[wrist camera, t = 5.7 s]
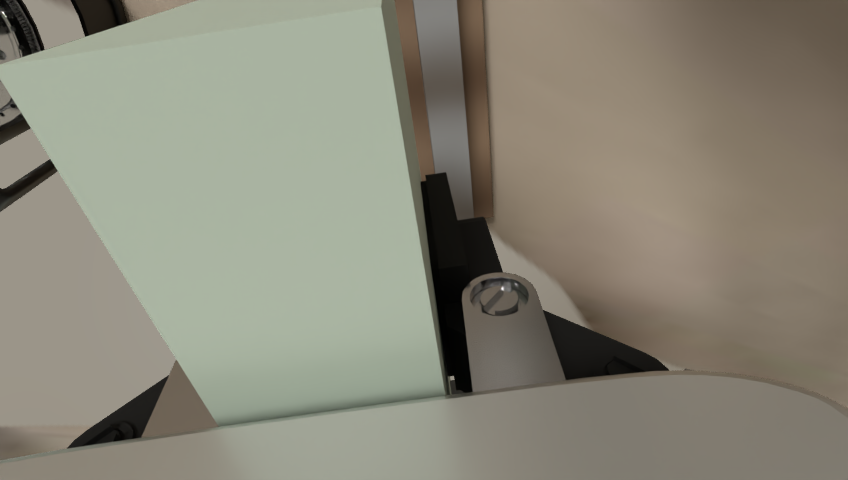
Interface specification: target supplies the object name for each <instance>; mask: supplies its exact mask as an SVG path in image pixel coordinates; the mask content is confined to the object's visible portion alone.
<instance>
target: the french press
mask: <svg viewBox="0 0 848 480" xmlns="http://www.w3.org/2000/svg"><path fill="white" fill-rule="evenodd" d="M71 2H72V4H73V6H74V8H75V10H76V12H77V14H78V16H79V19H80V22H81V25H82V28H83V31H84V34H85V37H86V36H90V35H93V34H96V33H99V32H102V31H105V30H108V29H111V28H114V27H117V26H120V25H123V24H127V20H126V17H125V13H124V9H123V6H122V4H121V1H120V0H71ZM43 50H44V46H43V43H42V40H41V37H40V35H39V32H38V29H37V27H36V24H35V23H34V21H33V19H32V17H31V15H30V13H29V11H28V9H27V7H26V5H25V4H24V3H23V1H22V0H0V64H3V63H6V62H9V61H12V60H15V59H18V58H22V57H25V56H28V55H31V54H34V53H37V52H40V51H43ZM30 128H31V127H30V126H29V124H28V123H27V121H26V119H25V118H24V116H23V115H22V113H21V111H20V110H19V108H18V107H17V105H16V104H15V102H14V100H13V99H12V97H11V96H10V94H9V92H8V91H7V89H6V88H5V86H4V84H3V83H2V81H1V80H0V145H1V144H3V143H4V142H6V141H8V140H10V139H12V138H14V137H16V136H17V135H19V134H21V133H23V132H25V131H27V130H28V129H30ZM57 171H58V170H57V169H56V167H55V166H54V164H53V162H52V161H51V159H50V160H48V161H46V162H45V163H43V164H42V165H40V166H39V167H37V168H36V169H34V170H33V171H31V172H30V173H28V174H27V175H25V176H24V177H22V178H21V179H19V180H17V181H16V182H14V183H13V184H11V185H10V186H8V187H7V188H5V189H1V188H0V212H1V211H2V210H3V209H5V208H7V207H8V206H9V205H11V204H12V203H13V202H15V201H16V200H18V199H19V198H21V197H22V196H23V195H25V194H26V193H28V192H29V191H31V190H32V189H33V188H35V187H36V186H38V185H39V184H40V183H42V182H43V181H44V180H46V179H47V178H49V177H50V176H52V175H53V174H54V173H56V172H57Z"/></svg>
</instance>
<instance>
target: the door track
mask: <svg viewBox="0 0 848 480" xmlns="http://www.w3.org/2000/svg"><path fill="white" fill-rule="evenodd" d="M394 1H395V7H396V14H397V21H398V27H399V34H400V41H401V47H402V54H403V61H404V68H405V74H406V81H407V88H408V94H409V101H410V108H411V114H412V121H413V128H414V134H415V141H416V148H417V154H418V161H419V168H420V174H421V181H426V178H425V175H430V174H437V173H443V172H446V174H447V178H448V182H449V186H450V191H451V195H452V199H453V203H454V207H455V212H456V216H457V220H463V219H469V218H476V217H484V218H490V217H493V198H492V179H491V160H490V141H489V122H488V103H487V84H486V65H485V46H484V27H483V8H482V0H394Z"/></svg>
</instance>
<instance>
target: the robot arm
mask: <svg viewBox="0 0 848 480" xmlns="http://www.w3.org/2000/svg"><path fill="white" fill-rule="evenodd" d="M425 178H426V181H421V182H420V183H421V191H422V199H423V207H424V215H425V223H426V232H427V240H428V248H429V256H430V264H431V271H432V278H433V285H434V291H435V297H436V304H437V310H438V317H439V323H440V330H441V336H442V343H443V349H444V356H445V362H446V368H447V375H448V376H454V379H455V385H456V391H457V390H461V391H463V392H465V393H462V394H454V395H447V396H439V397H431V398H424V399H416V400H409V401H401V402H394V403H386V404H379V405H372V406H364V407H357V408H350V409H342V410H335V411H328V412H320V413H313V414H306V415H299V416H291V417H284V418H277V419H270V420H263V421H255V422H248V423H241V424H234V425H227V426H220V427H219V426H218V425H217V423H216V422H215V420H214V418H213V417H212V415H211V414H210V412H209V410H208V409H207V407H206V406H205V404H204V403H203V401H202V399H201V398H200V396H199V395H198V393H197V391H196V390H195V388H194V387H193V385H192V383H191V382H190V380H189V379H188V377H187V376H186V374H185V372H184V371H183V369H182V368H181V366H180V364H179V363H178V361H177V360H176V361H175V363H174V366H173V368H172V370H171V372H170V375H168V376H167V377H165V378H164V379H162V380H161V381H159V382H158V383H156V384H155V385H154V386H152V387H150V388H149V389H148V390H146V391H145V392H143V393H142V394H140V395H139V396H137V397H136V398H134V399H133V400H131V401H130V402H128V403H127V404H125V405H124V406H122V407H121V408H119V409H118V410H117V411H115V412H113V413H112V414H110V415H109V416H107V417H106V418H104V419H103V420H102V421H100V422H99V423H97V424H96V425H94V426H93V427H91V428H90V429H88V430H87V431H86V432H84V433H83V434H82V435H80V436H79V437H78V438H77V439H75V440H74V441H73V442H72V443H71V445H70V446H69V447H68V448H67V449H62V450H56V451H50V452H45V453H39V454H34V455H28V456H22V457H17V458H11V459H6V460H0V480H848V408H846V407H844V406H843V405H841V404H839V403H837V402H836V401H834V400H831V399H829V398H827V397H825V396H822V395H820V394H818V393H816V392H813V391H810V390H807V389H804V388H801V387H797V386H794V385H791V384H787V383H783V382H779V381H775V380H771V379H765V378H758V377H752V376H746V375H740V374H734V373H726V372H709V371H695V370H690V369H685V370H683V371H669V370H668V368H666V367H665V366H664V365H663V364H662V363H661V362H660V361H659V360H657V359H655V358H654V357H652V356H650V355H648V354H646V353H644V352H642V351H639V350H637V349H635V348H632V347H630V346H628V345H625V344H623V343H620V342H618V341H616V340H613V339H611V338H609V337H606V336H604V335H601V334H599V333H597V332H594V331H592V330H589V329H587V328H585V327H582V326H580V325H578V324H575V323H573V322H570V321H568V320H566V319H563V318H561V317H559V316H556V315H554V314H551V313H549V312H547V311H544V310H543V309H542V306H541V304H540V300H539V297H538V295H537V292H536V290H535V288H534V287H533V285H532V284H531V283H530V282H529V281H527V280H526V279H525V278H522V277H520V276H518V275H516V274H510V273H503V271H502V268H501V265H500V262H499V259H498V256H497V253H496V250H495V247H494V244H493V241H492V238H491V235H490V232H489V229H488V226H487V223H486V220H485V218H484V217H476V218H469V219H463V220H457V216H456V212H455V207H454V203H453V199H452V195H451V191H450V186H449V182H448V178H447V174H446V172H443V173H437V174H430V175H425Z"/></svg>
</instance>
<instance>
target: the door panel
mask: <svg viewBox="0 0 848 480" xmlns="http://www.w3.org/2000/svg"><path fill="white" fill-rule="evenodd" d="M0 80H1V81H2V83H3V84H4V86H5V88H6V89H7V91H8V92H9V94H10V96H11V97H12V99H13V100H14V102H15V104H16V105H17V107H18V108H19V110H20V111H21V113H22V115H23V116H24V118H25V119H26V121H27V123H28V124H29V126H30V127H31V129H32V131H33V132H34V134H35V135H36V137H37V138H38V140H39V142H40V143H41V145H42V146H43V148H44V150H45V151H46V153H47V154H48V156H49V158H50V159H51V161H52V162H53V164H54V166H55V167H56V169H57V170H58V172H59V174H60V175H61V177H62V178H63V180H64V181H65V183H66V185H67V186H68V188H69V189H70V191H71V193H72V194H73V196H74V197H75V199H76V200H77V202H78V204H79V205H80V207H81V208H82V210H83V212H84V213H85V215H86V216H87V218H88V220H89V221H90V223H91V224H92V226H93V228H94V229H95V231H96V232H97V234H98V236H99V237H100V239H101V240H102V242H103V243H104V245H105V247H106V248H107V250H108V251H109V253H110V255H111V256H112V258H113V259H114V261H115V263H116V264H117V266H118V267H119V269H120V270H121V272H122V274H123V275H124V277H125V278H126V280H127V281H128V283H129V285H130V286H131V288H132V289H133V291H134V293H135V294H136V296H137V297H138V299H139V301H140V302H141V304H142V306H143V307H144V309H145V310H146V312H147V313H148V315H149V317H150V318H151V320H152V321H153V323H154V325H155V326H156V328H157V329H158V331H159V333H160V334H161V336H162V337H163V339H164V340H165V342H166V344H167V345H168V347H169V348H170V350H171V352H172V353H173V355H174V356H175V358H176V360H177V361H178V363H179V364H180V366H181V368H182V369H183V371H184V372H185V374H186V376H187V377H188V379H189V380H190V382H191V383H192V385H193V387H194V388H195V390H196V391H197V393H198V395H199V396H200V398H201V399H202V401H203V403H204V404H205V406H206V407H207V409H208V410H209V412H210V414H211V415H212V417H213V418H214V420H215V422H216V423H217V425H218V426H219V427H220V426H227V425H234V424H241V423H248V422H255V421H263V420H270V419H277V418H284V417H291V416H299V415H306V414H313V413H320V412H328V411H335V410H342V409H350V408H357V407H364V406H372V405H379V404H386V403H394V402H401V401H409V400H416V399H424V398H431V397H439V396H447V395H454V394H462V393H465V392H463V391H461V390H457V391H456V385H455V380H452V381H450V376H448V375H447V368H446V362H445V356H444V349H443V343H442V336H441V330H440V323H439V317H438V310H437V304H436V297H435V291H434V285H433V278H432V271H431V264H430V256H429V248H428V240H427V232H426V223H425V215H424V207H423V199H422V191H421V183H420V182H421V174H420V168H419V161H418V154H417V148H416V141H415V134H414V128H413V121H412V114H411V108H410V101H409V94H408V88H407V81H406V74H405V68H404V61H403V54H402V47H401V41H400V34H399V27H398V21H397V14H396V7H395V1H394V0H198V1H195V2H191V3H188V4H185V5H182V6H179V7H176V8H173V9H170V10H167V11H164V12H161V13H157V14H154V15H151V16H148V17H145V18H142V19H139V20H136V21H133V22H130V23H127V24H123V25H120V26H117V27H114V28H111V29H108V30H105V31H102V32H99V33H96V34H93V35H90V36H86V37H83V38H80V39H78V40H74V41H71V42H68V43H65V44H62V45H59V46H56V47H52V48H49V49H46V50H43V51H40V52H37V53H34V54H31V55H28V56H25V57H22V58H18V59H15V60H12V61H9V62H6V63H3V64H0Z"/></svg>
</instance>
